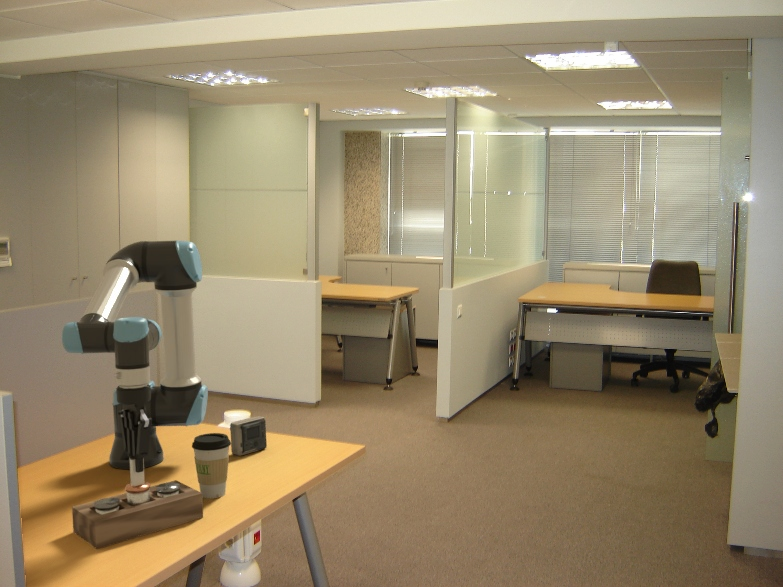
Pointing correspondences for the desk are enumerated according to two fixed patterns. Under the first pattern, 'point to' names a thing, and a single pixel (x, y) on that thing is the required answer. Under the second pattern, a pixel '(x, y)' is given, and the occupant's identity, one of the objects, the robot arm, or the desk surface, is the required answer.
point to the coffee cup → (212, 463)
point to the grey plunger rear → (167, 489)
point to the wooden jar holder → (136, 516)
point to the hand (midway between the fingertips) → (137, 484)
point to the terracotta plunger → (137, 494)
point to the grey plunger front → (106, 505)
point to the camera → (248, 435)
